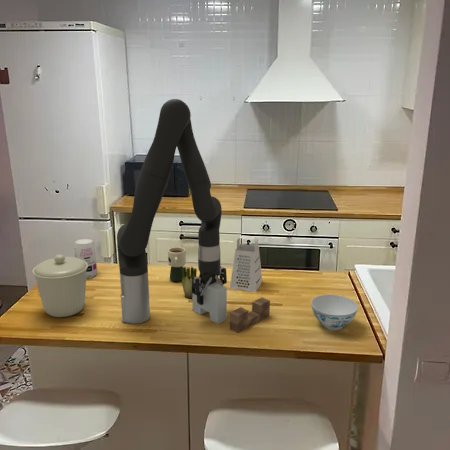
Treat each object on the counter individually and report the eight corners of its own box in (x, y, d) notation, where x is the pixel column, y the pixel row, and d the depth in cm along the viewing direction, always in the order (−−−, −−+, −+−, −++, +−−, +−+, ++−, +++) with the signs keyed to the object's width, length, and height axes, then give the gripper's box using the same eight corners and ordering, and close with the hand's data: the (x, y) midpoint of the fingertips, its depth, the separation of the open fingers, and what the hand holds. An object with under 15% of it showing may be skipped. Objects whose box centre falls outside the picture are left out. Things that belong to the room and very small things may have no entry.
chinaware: (354, 317, 162) (356, 296, 160) (356, 339, 148) (358, 317, 146) (311, 312, 165) (312, 292, 163) (308, 333, 151) (310, 312, 149)
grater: (255, 291, 181) (256, 243, 175) (229, 288, 184) (230, 240, 178) (262, 281, 190) (263, 234, 184) (237, 277, 193) (238, 232, 187)
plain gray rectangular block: (217, 323, 157) (218, 291, 153) (192, 310, 166) (192, 279, 162) (226, 319, 159) (226, 287, 156) (201, 307, 168) (200, 276, 165)
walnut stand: (237, 332, 151) (237, 315, 150) (229, 328, 154) (229, 312, 152) (269, 316, 162) (270, 300, 160) (261, 312, 164) (262, 297, 163)
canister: (69, 327, 154) (63, 268, 148) (26, 317, 160) (18, 260, 154) (101, 303, 170) (97, 249, 164) (61, 295, 176) (55, 243, 170)
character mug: (169, 274, 196) (168, 245, 192) (186, 274, 197) (185, 245, 193) (167, 285, 186) (166, 254, 182) (185, 285, 186) (185, 254, 182)
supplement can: (88, 269, 200) (85, 236, 196) (101, 274, 196) (98, 240, 191) (72, 275, 194) (69, 241, 190) (85, 280, 189) (82, 246, 185)
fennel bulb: (181, 295, 177) (180, 265, 174) (191, 291, 180) (191, 262, 177) (190, 300, 173) (189, 270, 170) (200, 296, 176) (200, 267, 173)
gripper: (201, 265, 149) (201, 310, 154) (232, 253, 159) (232, 297, 163) (185, 259, 154) (187, 303, 159) (216, 248, 164) (217, 290, 169)
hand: (209, 300), depth 161 cm, fingers open, 8 cm apart
